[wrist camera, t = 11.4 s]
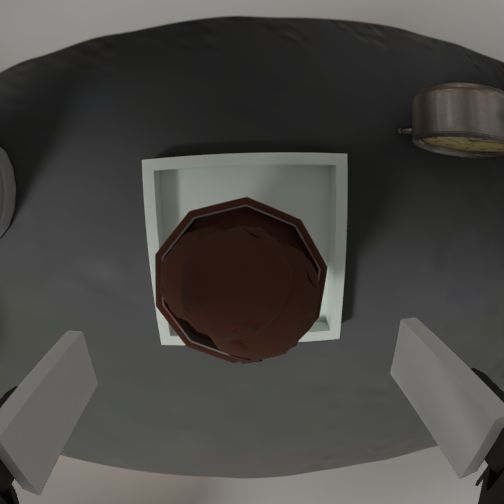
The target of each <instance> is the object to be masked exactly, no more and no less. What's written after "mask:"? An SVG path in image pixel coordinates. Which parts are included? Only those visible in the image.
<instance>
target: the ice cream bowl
mask: <svg viewBox="0 0 504 504" xmlns="http://www.w3.org/2000/svg"><path fill="white" fill-rule="evenodd" d="M327 268H328V267H327V265H326V264H325V262H324V260H323V258H322V256H321V254H320V253H319V251H318V249H317V247H316V245H315V243H314V242H313V240H312V238H311V236H310V235H309V233H308V231H307V229H306V227H305V226H304V224H303V222H302V220H301V219H298V218H296V217H294V216H291V215H289V214H287V213H284V212H282V211H280V210H277V209H275V208H273V207H270V206H268V205H266V204H263V203H261V202H258V201H256V200H254V199H251V198H249V197H244V198H240V199H235V200H231V201H227V202H223V203H219V204H215V205H211V206H207V207H203V208H199V209H195V210H191V211H189V212H188V213H187V215H186V216H185V217H184V218H183V220H182V221H181V222H180V223H179V225H178V226H177V227H176V228H175V230H174V231H173V232H172V233H171V235H170V236H169V237H168V239H167V240H166V241H165V242H164V244H163V245H162V246H161V248H160V249H159V250H158V252H157V253H156V254H155V290H156V307H157V308H158V309H159V311H160V312H161V314H162V315H163V316H164V318H165V319H166V320H167V322H168V323H169V324H170V326H171V327H172V328H173V329H174V331H175V332H176V333H177V335H178V336H179V337H180V338H181V340H182V341H183V342H184V344H185V345H186V346H188V347H190V348H193V349H196V350H198V351H201V352H204V353H207V354H210V355H212V356H215V357H218V358H221V359H224V360H227V361H230V362H233V363H236V362H241V363H242V364H245V363H252V362H260V361H262V359H266V358H270V357H274V356H278V355H282V354H285V353H286V352H287V351H288V350H289V349H290V348H292V347H294V346H296V345H297V343H298V341H299V340H300V339H301V338H302V337H303V336H304V335H305V334H306V333H307V332H308V331H309V330H310V329H311V327H312V326H313V324H314V322H315V321H316V320H317V319H318V318H319V316H320V310H321V305H322V299H323V293H324V287H325V281H326V275H327Z"/></svg>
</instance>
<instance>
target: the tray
mask: <svg viewBox="0 0 504 504" xmlns="http://www.w3.org/2000/svg"><path fill="white" fill-rule="evenodd" d="M142 175H143V193H144V208H145V221H146V232H147V243H148V253H149V262H150V270H151V278H152V286H153V294H154V301H155V308H156V314H157V321H158V327H159V333H160V339H161V345H185V344H184V342H183V341H182V340H181V338H180V337H179V336H178V335H177V333H176V332H175V331H174V329H173V328H172V327H171V326H170V324H169V323H168V322H167V320H166V319H165V318H164V316H163V315H162V314H161V312H160V311H159V309H158V308H157V307H156V290H155V254H156V253H157V252H158V250H159V249H160V248H161V246H162V245H163V244H164V242H165V241H166V240H167V239H168V237H169V236H170V235H171V233H172V232H173V231H174V230H175V228H176V227H177V226H178V225H179V223H180V222H181V221H182V220H183V218H184V217H185V216H186V215H187V213H188V212H189V211H191V210H195V209H199V208H203V207H207V206H211V205H215V204H219V203H223V202H227V201H231V200H235V199H240V198H244V197H249V198H251V199H254V200H256V201H258V202H261V203H263V204H266V205H268V206H270V207H273V208H275V209H277V210H280V211H282V212H284V213H287V214H289V215H291V216H294V217H296V218H298V219H301V220H302V222H303V224H304V226H305V227H306V229H307V231H308V233H309V235H310V236H311V238H312V240H313V242H314V243H315V245H316V247H317V249H318V251H319V253H320V254H321V256H322V258H323V260H324V262H325V264H326V265H327V267H328V268H327V275H326V281H325V287H324V293H323V299H322V305H321V310H320V316H319V318H318V319H317V320H316V321H315V322H314V324H313V326H312V327H311V329H310V330H309V331H308V332H307V333H306V334H305V335H304V336H303V337H302V338H301V339H300V340H299V341H298V342H306V341H319V340H331V339H339V337H340V327H341V316H342V305H343V292H344V278H345V261H346V239H347V199H348V164H347V154H342V153H300V152H275V153H233V154H211V155H194V156H180V157H168V158H157V159H146V160H142Z"/></svg>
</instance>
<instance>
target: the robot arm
mask: <svg viewBox="0 0 504 504" xmlns="http://www.w3.org/2000/svg"><path fill="white" fill-rule="evenodd" d="M390 374H391V375H392V377H393V378H394V379H395V381H396V382H397V384H398V385H399V387H400V388H401V390H402V391H403V393H404V394H405V396H406V397H407V399H408V400H409V402H410V403H411V404H412V406H413V407H414V409H415V410H416V412H417V413H418V415H419V416H420V418H421V419H422V421H423V423H424V424H425V426H426V427H427V429H428V430H429V432H430V433H431V435H432V436H433V438H434V439H435V441H436V442H437V444H438V446H439V447H440V449H441V450H442V452H443V453H444V455H445V456H446V458H447V459H448V461H449V463H450V464H451V466H452V467H453V469H454V471H455V472H456V474H457V476H458V477H459V479H461V478H463V477H465V476H468V475H470V474H472V473H474V472H475V471H477V470H478V468H479V467H480V465H481V464H482V462H483V461H484V459H485V461H486V462H487V464H488V466H487V468H486V469H485V471H484V472H483V474H482V475H481V476H480V478H479V479H478V480H477V483H476V486H478V485H479V484H480V482H481V481H482V480H483V484H482V488H481V493H480V498H479V502H478V504H504V392H503V391H502V390H501V389H500V390H499V387H498V386H497V385H496V384H495V383H493V381H492V380H491V379H490V378H489V377H488V376H487V375H486V374H484V373H483V372H481V371H479V370H477V369H475V368H472V369H470V368H469V367H468V366H467V365H466V364H465V363H464V362H463V361H462V360H461V359H460V358H459V357H458V356H457V355H456V354H454V353H453V352H452V351H451V350H450V349H449V348H448V347H447V346H446V345H445V344H444V343H443V342H442V341H441V340H440V339H439V338H438V337H437V336H436V335H434V334H433V333H432V332H431V331H430V330H429V329H428V328H427V327H426V326H425V325H424V324H423V323H421V322H420V321H419V320H418V319H417V318H416V317H415V318H408V319H401V322H400V327H399V333H398V338H397V344H396V349H395V353H394V358H393V363H392V367H391V372H390ZM97 386H98V382H97V379H96V376H95V373H94V370H93V367H92V363H91V360H90V357H89V353H88V350H87V346H86V343H85V339H84V335H83V331H67V332H66V333H65V334H64V335H63V336H62V337H61V338H60V339H59V341H58V342H57V343H56V344H55V345H54V346H53V347H52V348H51V349H50V350H49V352H48V353H47V354H46V355H45V356H44V357H43V358H42V359H41V361H40V362H39V363H38V364H37V365H36V366H35V367H34V368H33V370H32V371H31V372H30V373H29V374H28V375H27V377H26V378H25V379H24V380H23V381H22V382H21V384H20V385H19V386H18V387H17V386H15V387H14V388H12V389H11V390H9V391H8V392H6V393H5V394H4V396H3V397H2V398H1V399H0V504H19V501H18V498H17V494H16V492H15V489H14V487H13V486H12V482H13V480H14V479H15V480H16V481H17V482H18V483H19V485H20V486H21V487H22V488H23V489H24V490H27V491H29V492H32V493H35V494H37V495H41V493H42V491H43V488H44V486H45V484H46V482H47V480H48V478H49V476H50V474H51V472H52V470H53V468H54V466H55V464H56V462H57V460H58V458H59V456H60V454H61V452H62V450H63V448H64V446H65V444H66V442H67V440H68V439H69V437H70V435H71V433H72V431H73V429H74V427H75V425H76V423H77V422H78V420H79V418H80V416H81V414H82V412H83V411H84V409H85V407H86V405H87V403H88V402H89V400H90V398H91V396H92V394H93V393H94V391H95V389H96V387H97Z"/></svg>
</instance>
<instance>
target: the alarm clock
mask: <svg viewBox="0 0 504 504" xmlns="http://www.w3.org/2000/svg"><path fill="white" fill-rule="evenodd" d="M411 113H412V127H409V128H405V129H402V128H398V129H397V133H398V134H402V133H405V134H412V142H413V144H414V145H415V146H417V147H419V148H421V149H424V150H426V151H430V152H434V153H439V154H444V155H450V156H457V157H464V158H474V159H483V160H504V91H502V90H500V89H497V88H494V87H491V86H487V85H482V84H476V83H466V82H452V83H443V84H437V85H433V86H430V87H427V88H425V89H423V90H421V91H420V92H418V93H417V94H416V95H415V97H414V98H413V100H412V102H411Z"/></svg>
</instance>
